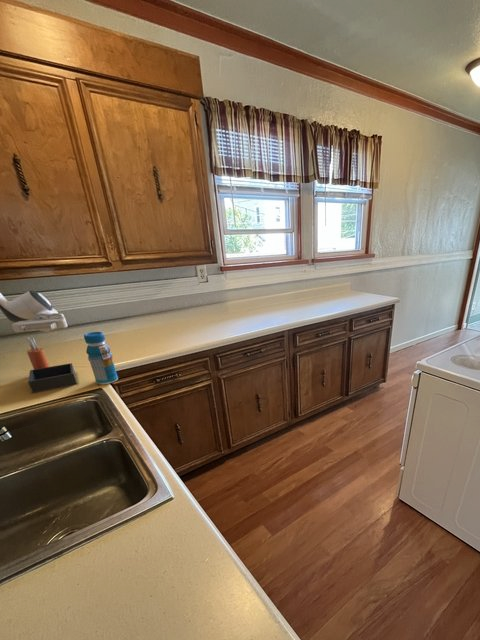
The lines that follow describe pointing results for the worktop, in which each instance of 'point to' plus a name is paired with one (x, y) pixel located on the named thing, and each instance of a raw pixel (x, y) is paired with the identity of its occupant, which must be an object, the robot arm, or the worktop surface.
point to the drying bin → (52, 377)
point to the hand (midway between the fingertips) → (37, 328)
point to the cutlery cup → (37, 355)
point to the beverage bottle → (100, 358)
